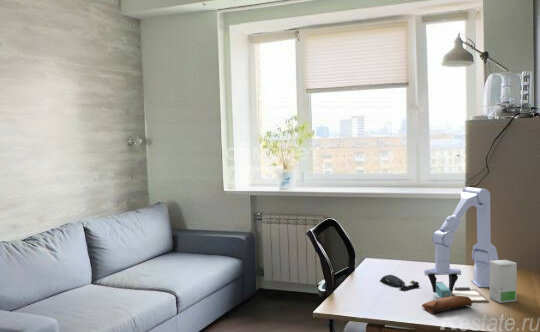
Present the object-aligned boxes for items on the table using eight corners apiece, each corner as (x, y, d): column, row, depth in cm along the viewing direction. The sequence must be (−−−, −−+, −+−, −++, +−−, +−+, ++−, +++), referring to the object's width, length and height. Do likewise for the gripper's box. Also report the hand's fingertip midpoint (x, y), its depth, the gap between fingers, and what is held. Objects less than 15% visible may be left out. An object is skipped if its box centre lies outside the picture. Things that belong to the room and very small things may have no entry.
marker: (433, 290, 222) (433, 282, 222) (442, 290, 222) (442, 282, 221) (444, 302, 207) (444, 293, 207) (453, 302, 207) (453, 293, 207)
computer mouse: (398, 277, 242) (398, 269, 242) (424, 288, 227) (424, 279, 226) (377, 281, 237) (377, 273, 237) (402, 292, 221) (402, 283, 221)
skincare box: (499, 303, 204) (499, 264, 203) (488, 298, 210) (488, 260, 209) (517, 301, 206) (517, 262, 205) (505, 295, 213) (505, 258, 211)
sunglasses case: (456, 297, 208) (463, 287, 204) (467, 312, 203) (474, 302, 199) (419, 305, 201) (426, 294, 197) (429, 320, 196) (436, 309, 192)
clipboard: (447, 291, 220) (447, 287, 220) (476, 290, 220) (476, 287, 220) (458, 302, 206) (458, 298, 206) (488, 302, 206) (488, 298, 206)
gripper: (427, 262, 210) (427, 295, 212) (463, 262, 210) (463, 294, 211) (422, 258, 218) (422, 289, 219) (457, 257, 217) (457, 289, 218)
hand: (442, 291), depth 215 cm, fingers open, 6 cm apart
